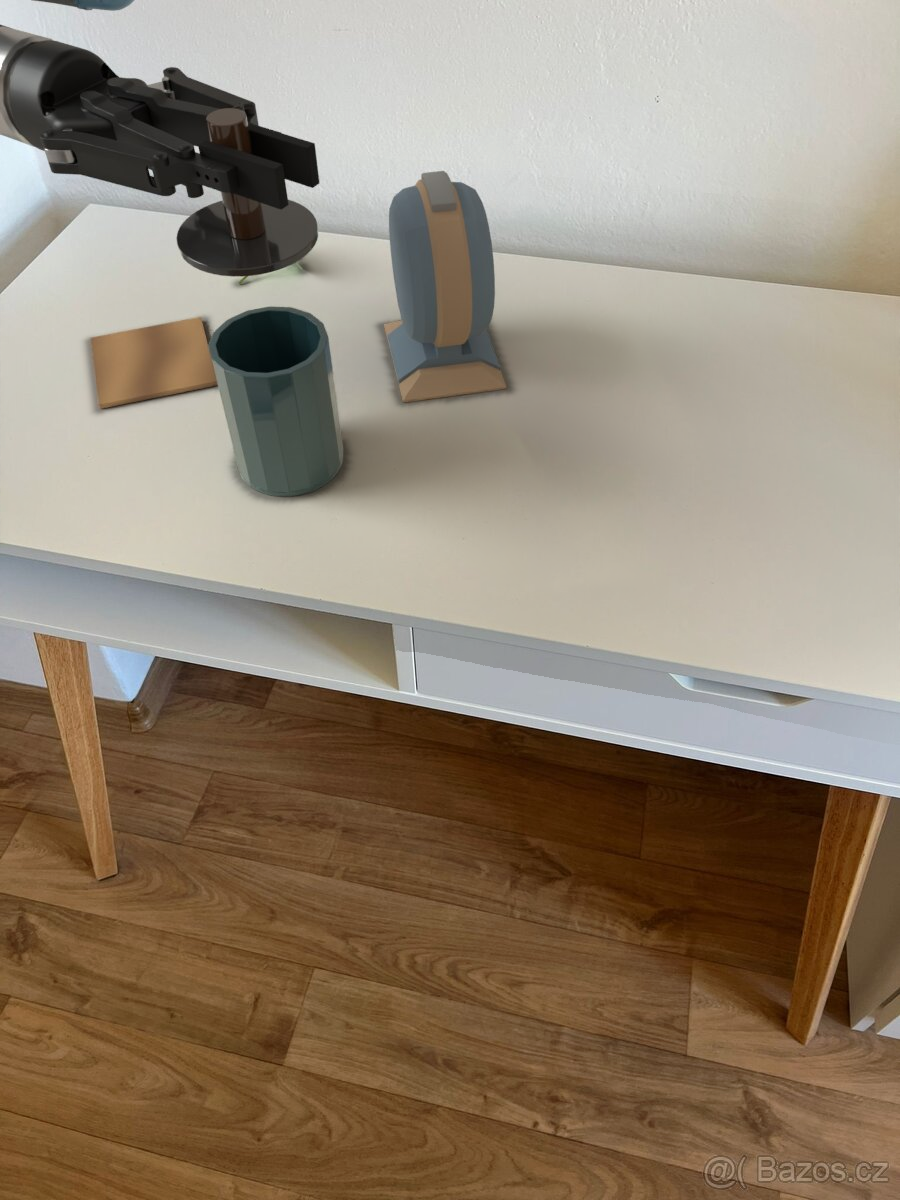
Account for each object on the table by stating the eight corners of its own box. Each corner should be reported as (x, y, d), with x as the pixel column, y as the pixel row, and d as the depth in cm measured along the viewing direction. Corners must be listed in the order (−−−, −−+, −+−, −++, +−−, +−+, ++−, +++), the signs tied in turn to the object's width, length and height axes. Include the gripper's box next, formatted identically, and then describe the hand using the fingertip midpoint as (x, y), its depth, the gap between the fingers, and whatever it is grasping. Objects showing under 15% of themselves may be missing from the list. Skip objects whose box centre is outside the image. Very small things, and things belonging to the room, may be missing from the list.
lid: (189, 295, 68) (157, 163, 61) (172, 223, 75) (140, 95, 68) (333, 269, 70) (317, 138, 63) (304, 201, 76) (286, 74, 69)
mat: (100, 409, 93) (98, 404, 93) (91, 341, 100) (90, 337, 100) (218, 385, 95) (217, 381, 95) (201, 320, 102) (200, 316, 102)
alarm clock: (508, 395, 93) (514, 217, 80) (404, 409, 92) (392, 231, 79) (477, 308, 102) (478, 135, 89) (382, 320, 101) (368, 147, 88)
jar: (247, 506, 85) (218, 387, 75) (230, 438, 90) (201, 318, 81) (354, 483, 86) (338, 363, 77) (330, 417, 92) (313, 297, 82)
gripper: (136, 107, 81) (372, 181, 72) (-19, 190, 73) (229, 285, 64) (110, 4, 75) (364, 72, 67) (-61, 82, 67) (205, 170, 58)
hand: (297, 176), depth 65 cm, fingers closed on lid, 3 cm apart
